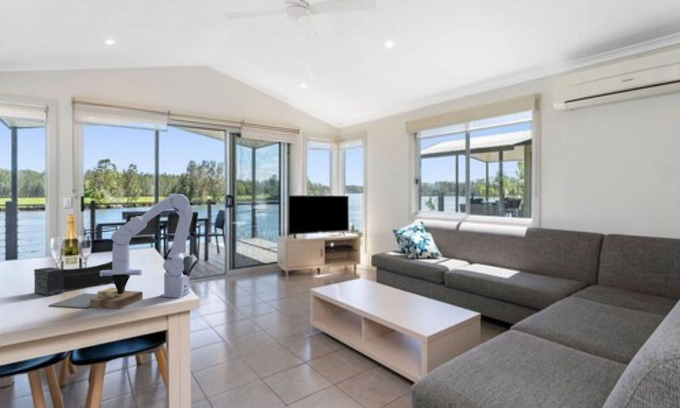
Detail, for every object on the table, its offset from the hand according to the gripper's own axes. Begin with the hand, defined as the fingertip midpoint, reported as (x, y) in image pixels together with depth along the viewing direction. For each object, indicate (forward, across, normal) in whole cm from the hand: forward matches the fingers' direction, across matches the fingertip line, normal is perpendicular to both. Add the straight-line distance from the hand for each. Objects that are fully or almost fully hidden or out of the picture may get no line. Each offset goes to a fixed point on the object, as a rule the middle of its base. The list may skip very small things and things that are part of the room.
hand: (121, 293), depth 138 cm
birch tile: (+1, +4, -2) cm, 5 cm away
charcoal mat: (+4, +15, -4) cm, 16 cm away
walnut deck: (+4, +2, 0) cm, 4 cm away
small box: (+4, +36, -18) cm, 41 cm away
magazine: (+4, +25, -28) cm, 38 cm away
